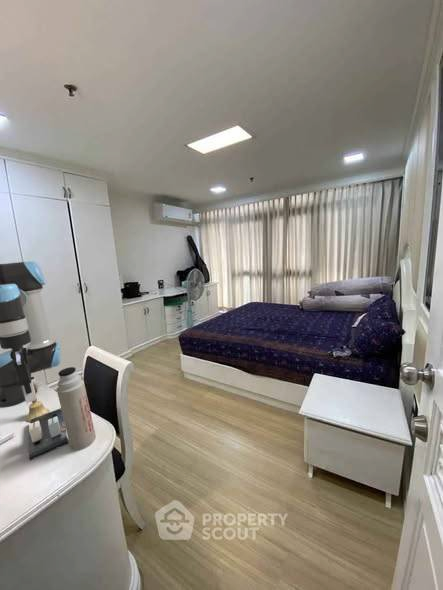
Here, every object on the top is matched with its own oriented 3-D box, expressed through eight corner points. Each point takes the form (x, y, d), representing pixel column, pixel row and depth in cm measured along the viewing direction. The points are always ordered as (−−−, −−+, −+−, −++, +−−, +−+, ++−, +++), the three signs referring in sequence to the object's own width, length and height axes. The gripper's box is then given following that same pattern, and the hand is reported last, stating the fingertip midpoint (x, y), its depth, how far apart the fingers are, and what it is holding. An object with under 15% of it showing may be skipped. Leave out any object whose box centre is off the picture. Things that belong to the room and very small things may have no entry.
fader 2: (51, 434, 90) (47, 419, 89) (60, 431, 92) (57, 415, 91) (52, 441, 87) (48, 425, 86) (61, 437, 89) (57, 421, 87)
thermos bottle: (100, 434, 91) (85, 364, 85) (84, 451, 83) (67, 376, 77) (82, 432, 92) (66, 364, 87) (65, 449, 85) (46, 376, 79)
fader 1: (33, 439, 89) (29, 423, 88) (43, 435, 90) (38, 420, 89) (33, 446, 86) (28, 430, 84) (43, 442, 87) (38, 426, 86)
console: (31, 425, 99) (30, 419, 98) (63, 412, 105) (62, 407, 105) (29, 460, 81) (27, 454, 81) (68, 443, 88) (66, 436, 87)
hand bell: (46, 406, 111) (38, 374, 107) (52, 413, 105) (44, 379, 102) (23, 417, 104) (14, 383, 101) (28, 425, 99) (19, 389, 96)
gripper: (0, 332, 80) (18, 397, 84) (-5, 341, 70) (15, 415, 74) (29, 326, 84) (44, 388, 89) (28, 334, 74) (45, 404, 78)
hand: (31, 400), depth 81 cm, fingers closed
